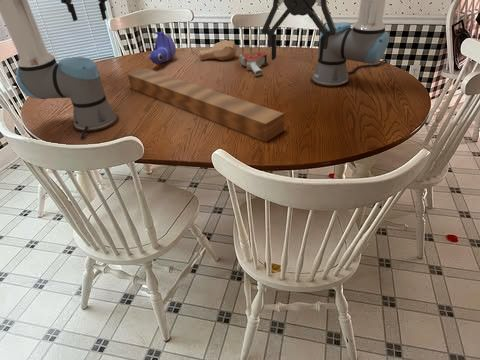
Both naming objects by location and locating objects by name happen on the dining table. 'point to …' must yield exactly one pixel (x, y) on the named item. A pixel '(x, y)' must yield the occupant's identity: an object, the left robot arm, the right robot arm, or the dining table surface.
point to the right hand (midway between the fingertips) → (296, 59)
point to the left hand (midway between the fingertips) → (90, 19)
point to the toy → (162, 49)
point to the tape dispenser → (254, 62)
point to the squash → (220, 51)
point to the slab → (210, 104)
